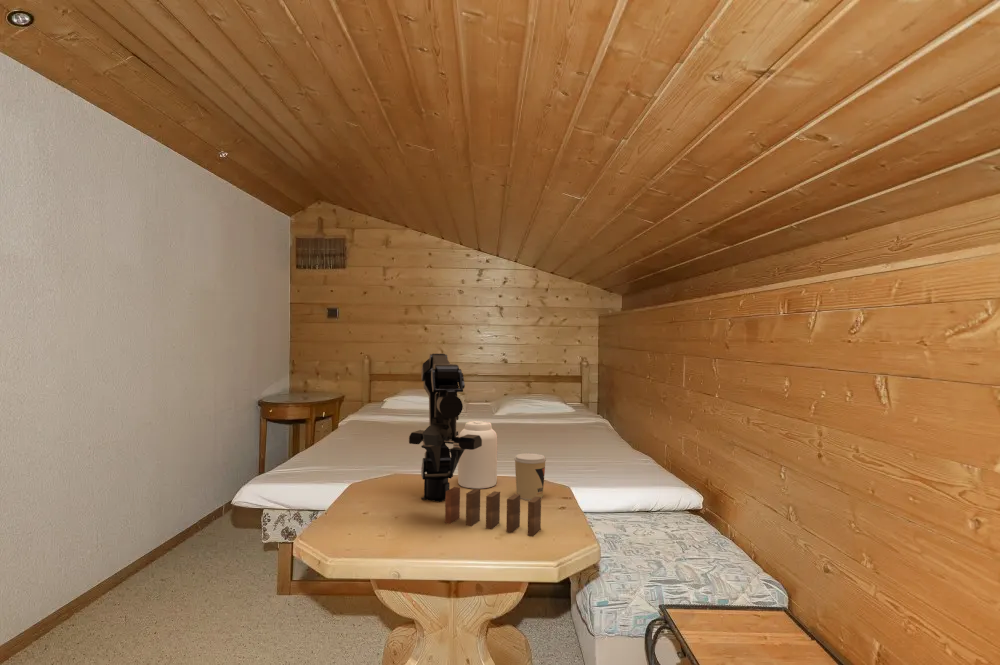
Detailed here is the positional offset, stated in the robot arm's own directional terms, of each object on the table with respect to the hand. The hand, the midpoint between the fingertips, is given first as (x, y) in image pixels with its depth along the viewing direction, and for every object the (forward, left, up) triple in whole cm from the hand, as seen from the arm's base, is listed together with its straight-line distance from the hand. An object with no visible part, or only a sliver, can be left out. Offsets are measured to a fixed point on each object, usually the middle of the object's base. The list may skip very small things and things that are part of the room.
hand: (444, 472), depth 148 cm
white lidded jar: (-7, +35, -12) cm, 37 cm away
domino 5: (+25, 0, -12) cm, 28 cm away
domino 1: (+3, -1, -12) cm, 12 cm away
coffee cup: (+13, +29, -12) cm, 34 cm away
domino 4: (+19, 0, -12) cm, 23 cm away
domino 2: (+8, 0, -12) cm, 15 cm away
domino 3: (+14, 0, -12) cm, 18 cm away
